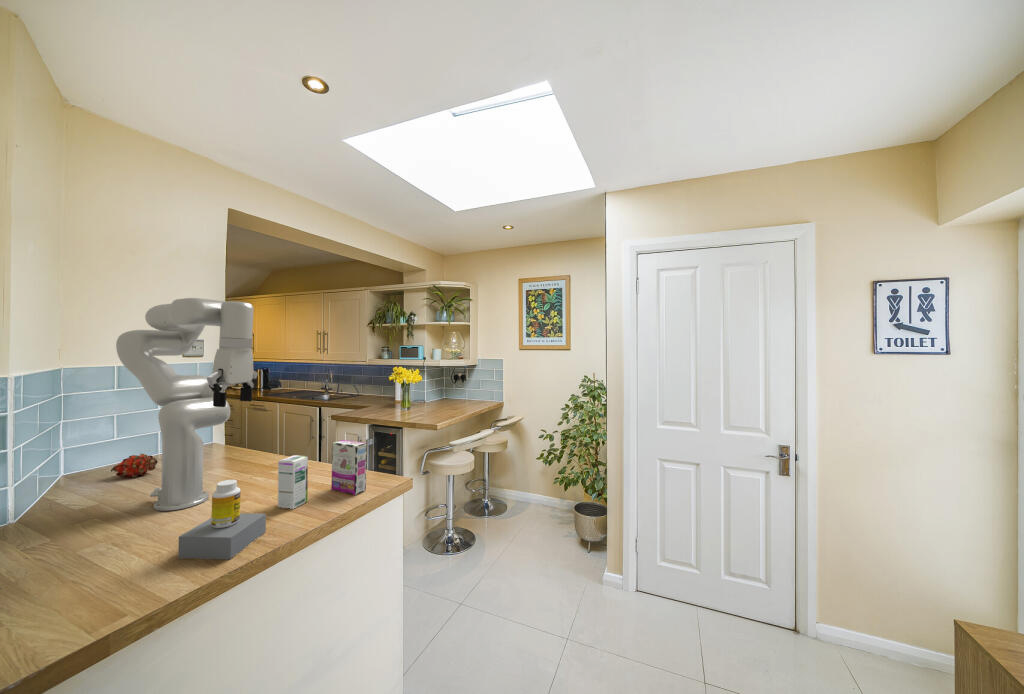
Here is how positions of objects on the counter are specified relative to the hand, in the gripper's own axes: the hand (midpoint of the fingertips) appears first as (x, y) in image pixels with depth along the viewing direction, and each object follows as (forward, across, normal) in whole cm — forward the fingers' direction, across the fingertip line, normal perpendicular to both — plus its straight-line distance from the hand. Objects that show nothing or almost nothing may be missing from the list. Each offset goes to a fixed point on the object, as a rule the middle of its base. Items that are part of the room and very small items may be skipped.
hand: (233, 403), depth 106 cm
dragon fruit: (+34, -27, -56) cm, 71 cm away
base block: (+32, +16, +12) cm, 37 cm away
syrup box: (+32, -8, +14) cm, 36 cm away
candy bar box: (+32, -20, +26) cm, 45 cm away
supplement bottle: (+27, +15, +12) cm, 33 cm away
